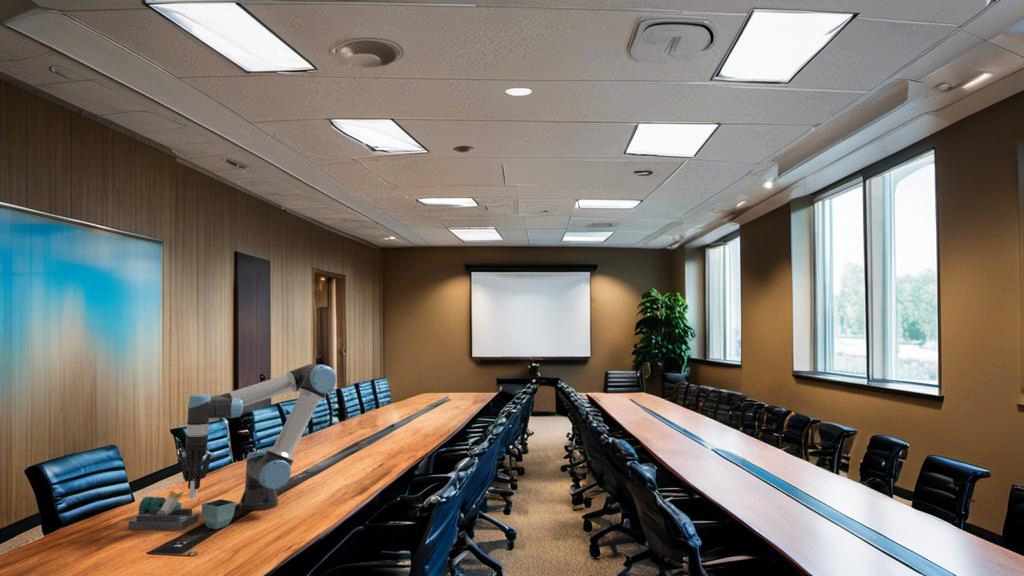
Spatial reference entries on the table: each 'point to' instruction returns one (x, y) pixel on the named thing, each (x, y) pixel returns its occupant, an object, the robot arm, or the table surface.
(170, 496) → the breaker lever
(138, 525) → the breaker panel
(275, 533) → the table surface
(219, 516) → the flower pot
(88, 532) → the table surface
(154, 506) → the bracket
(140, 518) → the dark grey rectangular piece
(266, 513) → the table surface
